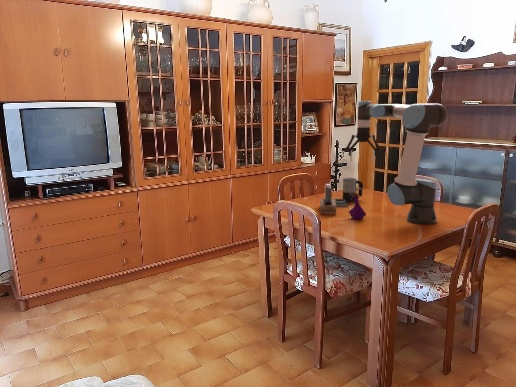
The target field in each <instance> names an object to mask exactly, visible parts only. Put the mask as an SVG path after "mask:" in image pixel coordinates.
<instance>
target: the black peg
mask: <svg viewBox="0 0 516 387" xmlns="http://www.w3.org/2000/svg"><path fill="white" fill-rule="evenodd" d="M332 189H333V188H332V186H331V187H326V188H325V187H324V198H325V205H331V199H332V191H333V190H332Z"/></svg>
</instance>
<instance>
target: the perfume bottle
mask: <svg viewBox="0 0 516 387" xmlns="http://www.w3.org/2000/svg"><path fill="white" fill-rule="evenodd" d="M359 189H361V188H359V187H356V193H353V196H352V198H354V200H355V201H354V206H353V207H352V208H351V209H350V210H349V211H348V214H349V216H350V217H351V218H352V219H353V220H355V221H357V220H359V221H360V220H363V219H364V217H366V216H367V213H366V211H365V210H364V209H363V208H362V206H361V204H360V201H359V199H360V196H359V195H358V193H359V192H358V193H357V191H359ZM361 191H362V189H361ZM362 192H363V191H362Z"/></svg>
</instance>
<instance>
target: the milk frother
mask: <svg viewBox="0 0 516 387" xmlns="http://www.w3.org/2000/svg"><path fill="white" fill-rule="evenodd" d="M357 184H358V188H361V189H362V191H361V189H359V190H358V196H359V198H360V197H362V196H363V188H364V185H363V184H364V183H363V182H362V181H361V180H357V178H355V177H346V178H345V177H343V179H342V199H345V201H347V203H348V202H349V203H353V202H354V203H355V200H354V198H352V196H353V193H357V191H356V188H357Z"/></svg>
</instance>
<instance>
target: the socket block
mask: <svg viewBox="0 0 516 387" xmlns="http://www.w3.org/2000/svg"><path fill="white" fill-rule="evenodd" d="M334 199H335V203H336V208H337V207H341V208H346V207H347V208H348V207H349V204H348V202H347V201H345V199H343V198H334Z"/></svg>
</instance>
